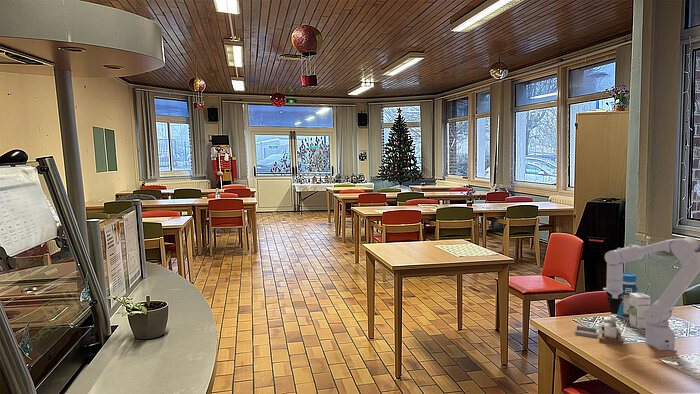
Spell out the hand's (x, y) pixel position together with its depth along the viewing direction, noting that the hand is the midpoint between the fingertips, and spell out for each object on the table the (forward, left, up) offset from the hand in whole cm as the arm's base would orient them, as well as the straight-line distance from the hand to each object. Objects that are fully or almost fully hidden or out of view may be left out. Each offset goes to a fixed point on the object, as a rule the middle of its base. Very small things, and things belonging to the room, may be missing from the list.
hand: (613, 311), depth 179 cm
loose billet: (-9, +7, -9) cm, 14 cm away
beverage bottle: (+21, -18, -10) cm, 29 cm away
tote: (-2, +12, -9) cm, 15 cm away
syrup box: (+7, -15, -10) cm, 19 cm away
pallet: (-6, +5, -9) cm, 12 cm away
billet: (-2, +3, -9) cm, 9 cm away
